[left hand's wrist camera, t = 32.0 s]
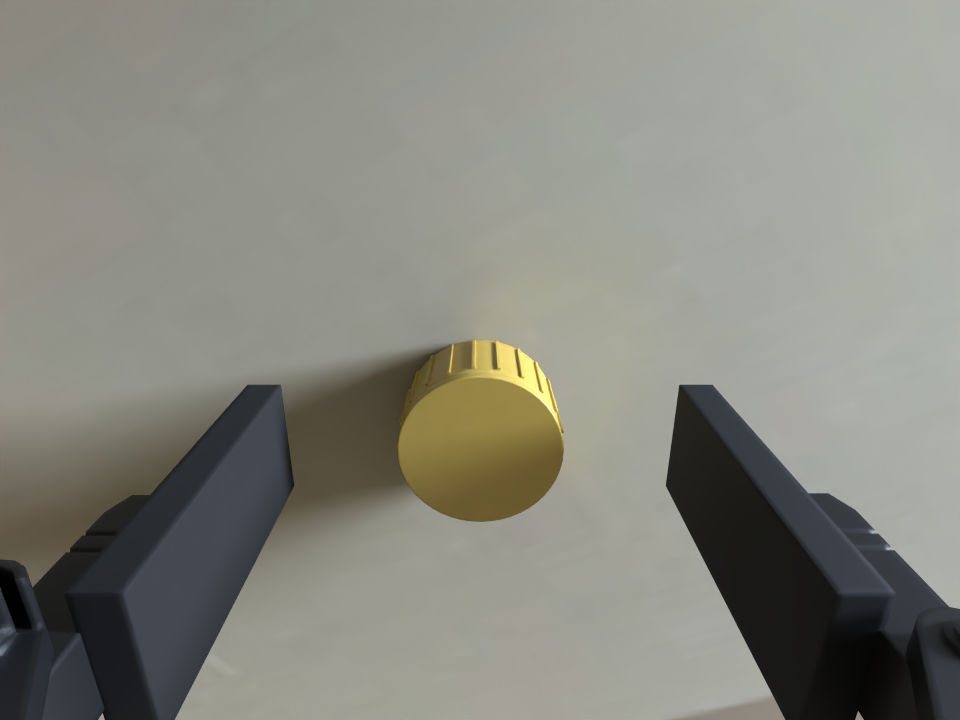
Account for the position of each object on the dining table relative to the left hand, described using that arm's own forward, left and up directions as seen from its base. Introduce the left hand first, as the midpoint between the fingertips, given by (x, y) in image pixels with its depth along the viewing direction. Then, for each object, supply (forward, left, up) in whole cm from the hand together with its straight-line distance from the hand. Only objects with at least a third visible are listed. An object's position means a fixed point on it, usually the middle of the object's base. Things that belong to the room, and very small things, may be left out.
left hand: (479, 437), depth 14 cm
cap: (0, 0, 0) cm, 0 cm away
